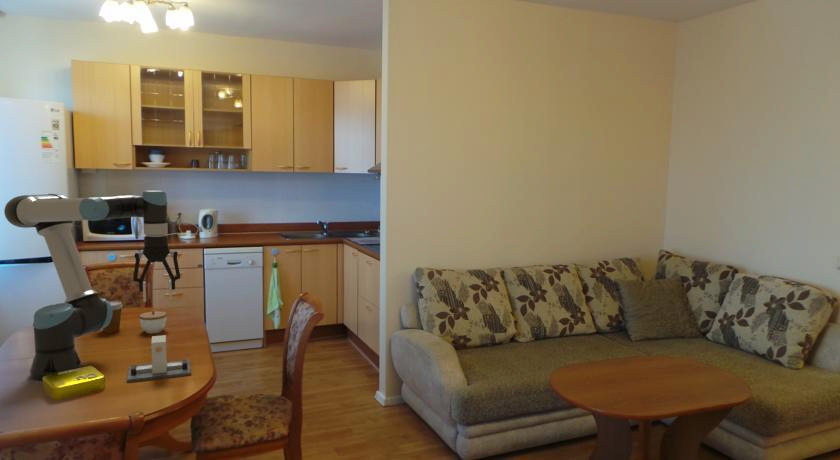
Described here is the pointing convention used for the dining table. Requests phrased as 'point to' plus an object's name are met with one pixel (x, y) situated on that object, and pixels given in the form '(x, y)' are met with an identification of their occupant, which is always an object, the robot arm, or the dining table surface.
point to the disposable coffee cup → (114, 317)
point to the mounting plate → (145, 373)
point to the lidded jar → (153, 321)
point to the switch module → (159, 354)
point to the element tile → (73, 382)
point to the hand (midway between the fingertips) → (157, 299)
